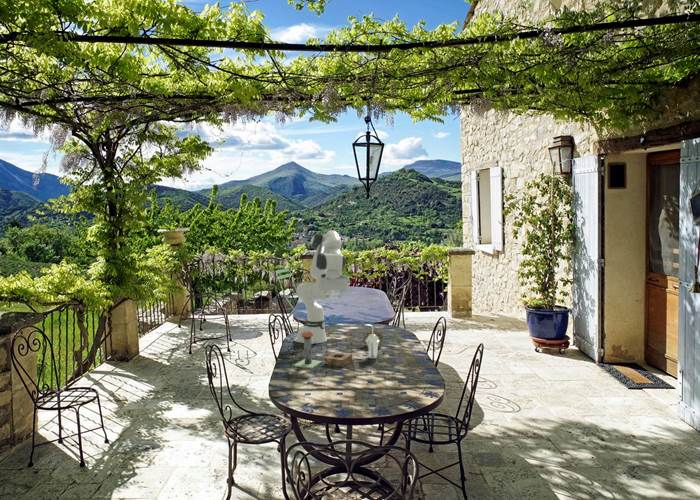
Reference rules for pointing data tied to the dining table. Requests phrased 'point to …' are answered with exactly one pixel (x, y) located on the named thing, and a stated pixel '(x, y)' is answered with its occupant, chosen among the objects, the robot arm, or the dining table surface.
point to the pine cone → (379, 335)
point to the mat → (302, 364)
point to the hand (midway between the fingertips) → (333, 297)
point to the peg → (307, 346)
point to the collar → (338, 359)
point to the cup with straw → (372, 344)
